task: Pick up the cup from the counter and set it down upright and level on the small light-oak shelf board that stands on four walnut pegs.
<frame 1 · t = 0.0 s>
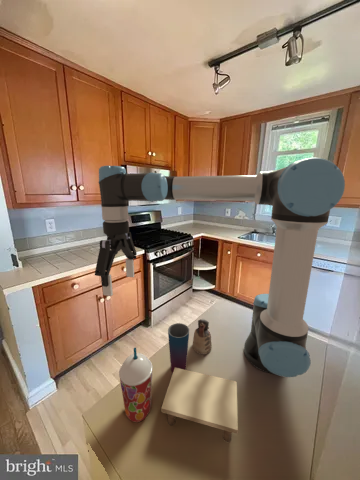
hand: (120, 285, 65), 28 cm above the counter, fingers open, 13 cm apart
cup: (178, 369, 66), on the counter
figurine: (202, 347, 76), on the counter
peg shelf: (200, 412, 53), on the counter
smoothie: (138, 411, 54), on the counter
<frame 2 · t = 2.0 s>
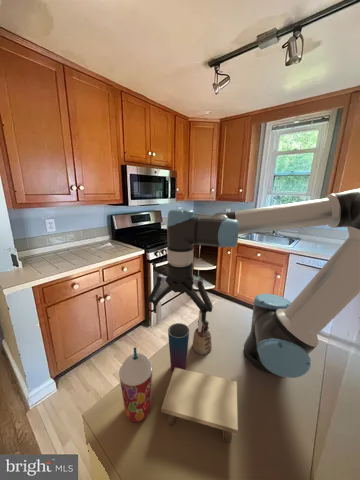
hand: (178, 325, 63), 16 cm above the counter, fingers open, 13 cm apart
nothing on the counter moved.
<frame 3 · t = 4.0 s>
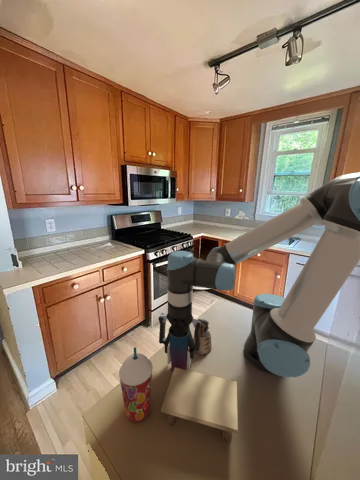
hand: (179, 362, 66), 2 cm above the counter, fingers closed on cup, 6 cm apart
cup: (178, 369, 66), on the counter, touching gripper
everything else where it was.
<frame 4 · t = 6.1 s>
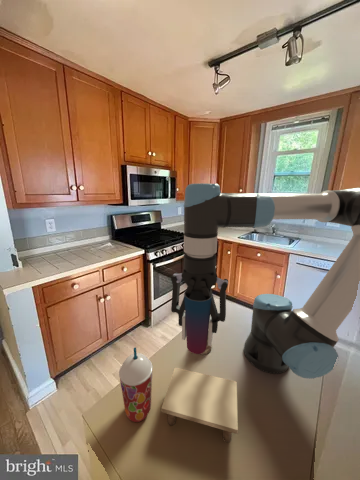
hand: (197, 338, 51), 21 cm above the counter, fingers closed on cup, 6 cm apart
cup: (196, 347, 51), point 19 cm above the counter, touching gripper
everything else where it was.
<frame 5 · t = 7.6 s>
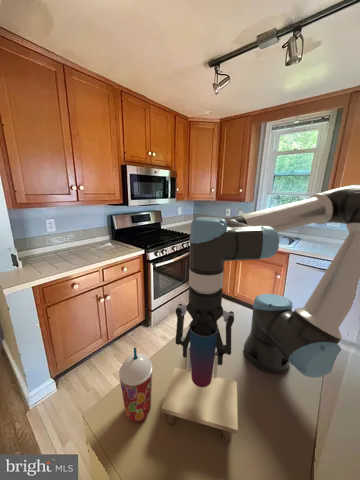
hand: (202, 370, 50), 14 cm above the counter, fingers closed on cup, 6 cm apart
cup: (201, 378, 50), point 12 cm above the counter, touching gripper
everything else where it was.
when the fingers open (10 cm above the counter, at t = 8.7 s): cup drops 1 cm, resting on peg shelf.
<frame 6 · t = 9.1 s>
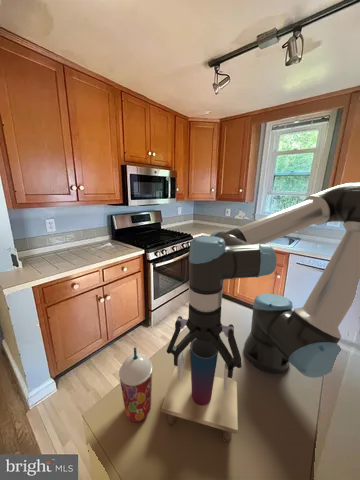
hand: (202, 380, 51), 11 cm above the counter, fingers open, 11 cm apart
cup: (201, 396, 51), point 6 cm above the counter, touching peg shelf
everything else where it was.
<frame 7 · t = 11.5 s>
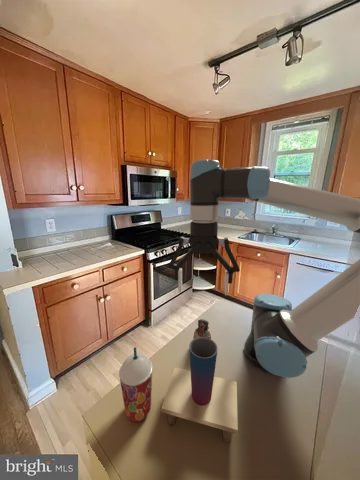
hand: (202, 291, 59), 29 cm above the counter, fingers open, 13 cm apart
nothing on the counter moved.
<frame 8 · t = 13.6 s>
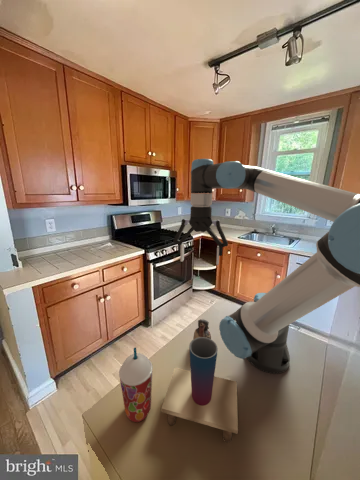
hand: (199, 262, 76), 32 cm above the counter, fingers open, 13 cm apart
nothing on the counter moved.
at the end: cup inside the target area on the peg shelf (0.4 cm from its centre), point 6.0 cm above the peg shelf's base; cup tilted 0°; the gripper is holding nothing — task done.
